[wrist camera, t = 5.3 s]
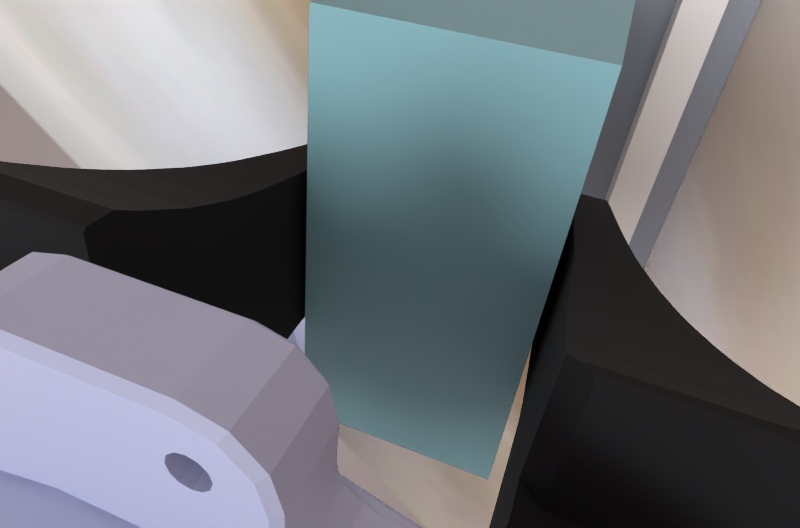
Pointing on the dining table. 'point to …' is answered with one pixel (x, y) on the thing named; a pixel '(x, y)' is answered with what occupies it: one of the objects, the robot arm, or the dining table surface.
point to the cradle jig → (663, 107)
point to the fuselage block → (444, 201)
